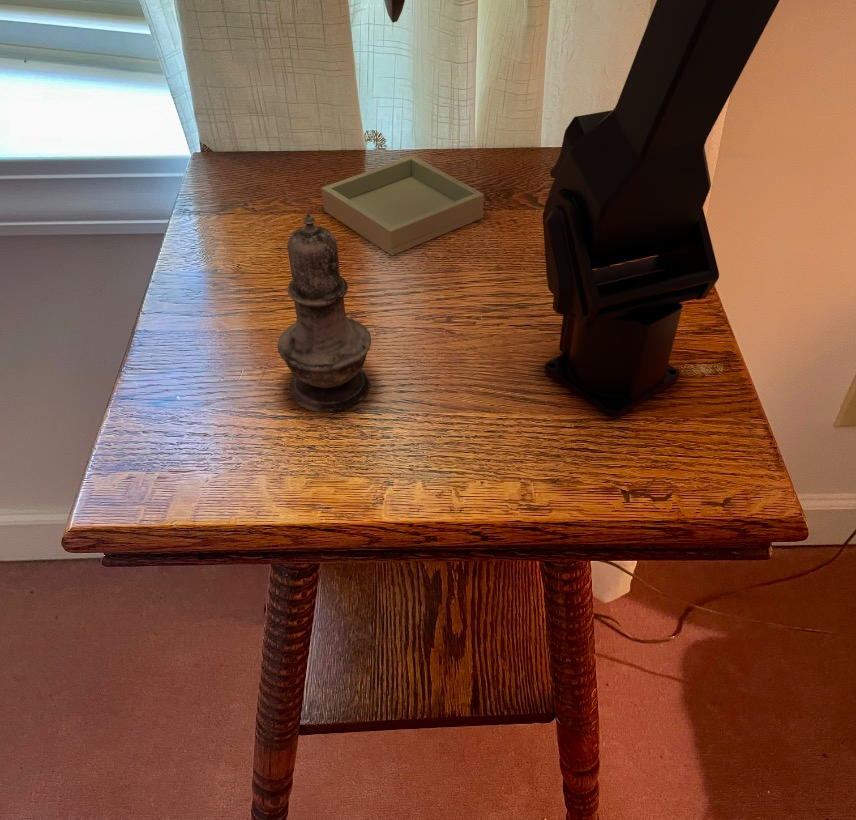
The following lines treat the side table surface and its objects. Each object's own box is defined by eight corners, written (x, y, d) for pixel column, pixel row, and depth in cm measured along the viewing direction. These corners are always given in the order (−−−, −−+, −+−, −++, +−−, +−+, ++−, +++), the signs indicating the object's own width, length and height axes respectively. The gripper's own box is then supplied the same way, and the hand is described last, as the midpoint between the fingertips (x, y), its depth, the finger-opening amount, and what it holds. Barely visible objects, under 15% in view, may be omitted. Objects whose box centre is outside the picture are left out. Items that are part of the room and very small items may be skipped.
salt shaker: (326, 428, 51) (302, 252, 43) (266, 388, 54) (232, 215, 45) (393, 384, 54) (383, 212, 45) (333, 348, 57) (313, 179, 48)
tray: (483, 217, 69) (484, 193, 68) (391, 256, 65) (390, 231, 64) (412, 178, 75) (412, 155, 73) (323, 211, 71) (321, 187, 69)
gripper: (570, -332, 52) (509, -93, 67) (294, -303, 48) (293, -53, 62) (649, -206, 50) (568, 13, 65) (368, -162, 45) (349, 63, 60)
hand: (446, 5), depth 63 cm, fingers open, 9 cm apart
